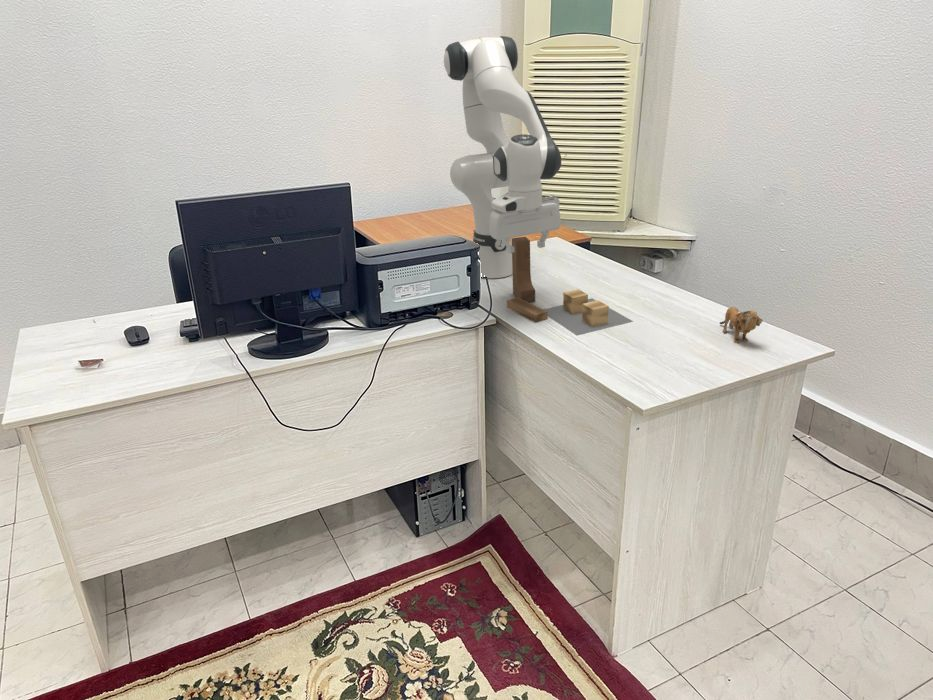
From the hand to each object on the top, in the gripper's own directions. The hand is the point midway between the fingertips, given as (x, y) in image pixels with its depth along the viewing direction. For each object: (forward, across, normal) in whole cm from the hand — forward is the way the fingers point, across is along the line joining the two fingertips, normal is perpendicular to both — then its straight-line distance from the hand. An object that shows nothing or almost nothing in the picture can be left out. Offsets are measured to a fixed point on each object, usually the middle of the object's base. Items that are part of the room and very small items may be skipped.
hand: (526, 250), depth 186 cm
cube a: (+19, -13, +5) cm, 23 cm away
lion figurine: (+20, -39, +40) cm, 60 cm away
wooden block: (+19, -5, -11) cm, 23 cm away
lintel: (+20, 0, 0) cm, 20 cm away
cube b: (+19, -13, +15) cm, 27 cm away
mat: (+19, -13, +10) cm, 25 cm away
